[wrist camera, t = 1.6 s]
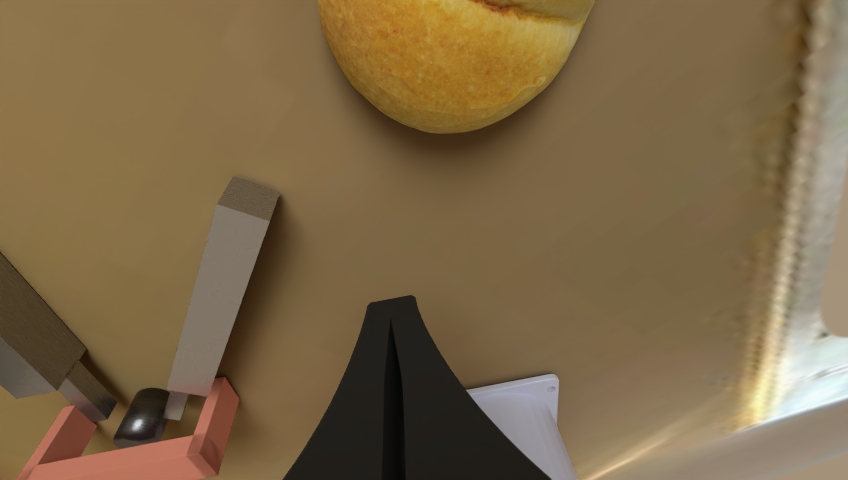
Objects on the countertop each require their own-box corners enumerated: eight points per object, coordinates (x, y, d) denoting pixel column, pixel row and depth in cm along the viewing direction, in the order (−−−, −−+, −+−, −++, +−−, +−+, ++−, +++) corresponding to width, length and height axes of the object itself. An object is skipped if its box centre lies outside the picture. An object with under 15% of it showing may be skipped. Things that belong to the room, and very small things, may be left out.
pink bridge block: (239, 399, 24) (218, 475, 20) (86, 428, 24) (38, 510, 20) (224, 376, 23) (199, 453, 19) (64, 407, 22) (9, 489, 19)
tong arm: (207, 398, 23) (194, 436, 22) (171, 392, 23) (154, 430, 21) (279, 192, 17) (269, 221, 15) (233, 176, 16) (216, 204, 15)
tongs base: (182, 407, 24) (165, 448, 22) (113, 420, 24) (90, 462, 22) (-34, 136, 15) (-96, 165, 13) (-147, 157, 15) (-226, 188, 13)
